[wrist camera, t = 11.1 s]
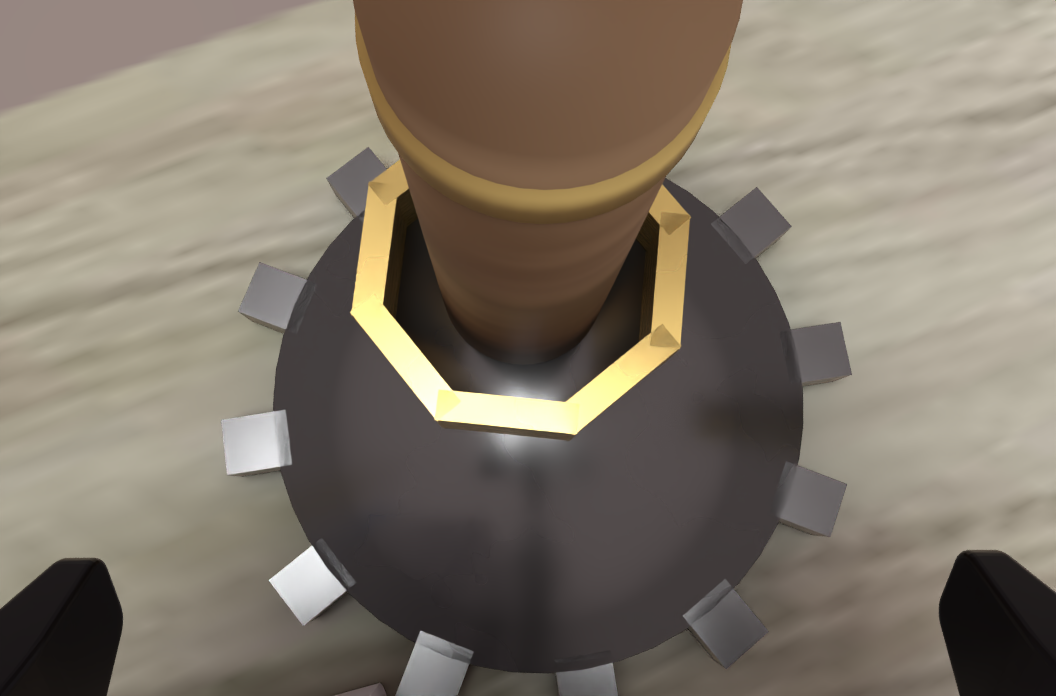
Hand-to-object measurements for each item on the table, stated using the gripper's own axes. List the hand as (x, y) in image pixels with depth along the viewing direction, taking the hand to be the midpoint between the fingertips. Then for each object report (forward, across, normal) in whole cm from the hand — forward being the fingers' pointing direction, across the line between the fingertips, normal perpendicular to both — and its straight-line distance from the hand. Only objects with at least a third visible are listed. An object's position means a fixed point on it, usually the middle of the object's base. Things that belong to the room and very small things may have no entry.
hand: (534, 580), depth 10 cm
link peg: (+11, 0, +3) cm, 12 cm away
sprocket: (+10, 0, +6) cm, 12 cm away
